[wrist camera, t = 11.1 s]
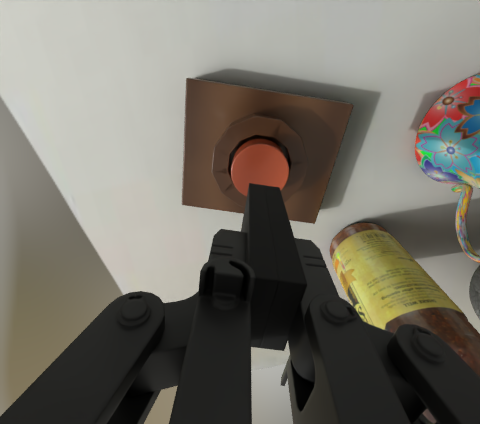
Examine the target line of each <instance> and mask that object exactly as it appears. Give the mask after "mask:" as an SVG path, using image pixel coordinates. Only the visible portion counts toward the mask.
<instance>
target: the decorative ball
mask: <svg viewBox="0 0 480 424" xmlns="http://www.w3.org/2000/svg"><path fill="white" fill-rule="evenodd" d="M469 294H470V300H471V304H472V306H473V309H474V311H475V313H476V314H477V316H478V318H479V319H480V266H479V267H478V268H477V270H476V271H475V273H474V274H473V277H472V279H471V282H470V288H469Z"/></svg>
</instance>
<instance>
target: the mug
mask: <svg viewBox="0 0 480 424" xmlns="http://www.w3.org/2000/svg"><path fill="white" fill-rule="evenodd" d="M415 155H416V159H417V162H418V164H419V166H420V168H421V169H422V170H423V172H424V173H425V174H426V175H427V176H429V177H430V178H432V179H434V180H436V181H438V182H442V183H447V184H459V185H455V186H453V187H452V188H451V190H452V191H454V192H461V191H462V192H461V195H460V198H459V201H458V205H457V210H456V232H457V237H458V240H459V243H460V246H461V248H462V250H463V251H464V252H465V254H466V255H467V256H468V257H469V258H471V259H472V260H474V261H476V262H478V263H480V256H479V255H477V254H476V253H475V251H474V250H473V248H472V246H471V244H470V242H469V239H468V235H467V228H466V218H467V211H468V206H469V203H470V199H471V196H472V192H473V188H472V186H474V187H477V188H479V189H480V74H478V75H475V76H472V77H470V78H467V79H465V80H463V81H462V82H460V83H458V84H456V85H455V86H454V87H452V88H451V89H449V90H448V91H447V92H446V93H444V94H443V95H442V96H441V97H440V98H439V99H438V100H437V101H436V102H435V103H434V104H433V106H432V107H431V108H430V110H429V111H428V112H427V114H426V115H425V117H424V119H423V121H422V123H421V125H420V127H419V130H418V133H417V136H416V142H415ZM467 184H468V185H467ZM470 185H472V186H470Z"/></svg>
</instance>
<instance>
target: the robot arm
mask: <svg viewBox="0 0 480 424" xmlns="http://www.w3.org/2000/svg"><path fill="white" fill-rule="evenodd" d="M287 341H288V343H289V349H290V356H289V359H288V361H287V364H286V367H285V369H284V372H283V375H282V377H281V385H282V386H285V383H286V381H287V378H288V385H289V393H290V401H291V408H292V416H293V424H480V377H479V376H478V375H477V374H476V373H475V372H474V371H473V370H472V368H471V367H470V366H469V365H468V364H467V363H466V362H465V361H464V360H463V359H462V358H461V357H460V356H459V355H458V354H457V353H456V352H455V351H454V350H453V349H452V348H451V347H450V346H449V345H448V344H447V343H446V342H445V341H443V340H442V339H441V338H440V337H439V336H437V335H436V334H434V333H432V332H431V331H429V330H427V329H426V328H423V327H420V326H417V325H414V324H404V325H401V326H399V327H398V328H397V330H396V332H395V333H391V332H389V331H386V330H383V329H381V328H378V327H376V326H373V325H370V324H368V323H366V322H364V321H362V319H361V317H360V315H359V314H358V312H357V311H356V309H355V308H354V307H353V306H352V305H351V304H349V303H348V302H347V301H346V300H344V299H342V298H340V297H339V295H338V292H337V290H336V288H335V285H334V283H333V280H332V278H331V276H330V273H329V271H328V268H326V264H325V261H324V260H323V256H322V254H321V252H320V249H319V248H318V247H317V246H316V245H315V244H314V243H313V242H312V241H311V240H304V239H297V238H294V236H293V232H292V229H291V225H290V222H289V218H288V215H287V211H286V208H285V204H284V201H283V197H282V194H281V190H280V187H273V186H266V185H259V184H253V183H249V187H248V193H247V199H246V205H245V211H244V217H243V223H242V229H241V232H239V231H232V230H225V229H221V230H219V231H218V232H217V233H216V234H215V235H214V238H213V242H212V247H211V251H210V256H209V260H208V262H207V263H205V264H204V266H203V267H202V269H201V272H200V283H199V291H198V292H197V293H196V294H195V295H193V296H192V297H190V298H187V299H185V300H181V301H177V302H170V303H163V302H162V301H161V299H160V298H159V297H158V296H156V295H154V294H152V293H148V292H142V291H140V292H132V293H128V294H125V295H123V296H120V297H119V298H117V299H116V300H114V301H113V302H112V303H111V304H109V305H108V306H107V307H106V308H105V309H104V310H103V311H102V312H101V313H100V314H99V315H98V316H97V317H96V318H95V319H94V320H93V322H92V323H91V324H90V325H89V326H88V327H87V328H86V329H85V330H84V331H83V332H82V333H81V334H80V335H79V336H78V337H77V338H76V339H75V340H74V341H73V342H72V343H71V344H70V345H69V346H68V347H67V348H66V349H65V350H64V352H63V353H62V354H61V355H60V356H59V357H58V358H57V359H56V360H55V361H54V362H53V363H52V364H51V365H50V366H49V367H48V368H47V369H46V370H45V371H44V372H43V373H42V374H41V375H40V376H39V377H38V378H37V379H36V380H35V382H34V383H32V384H31V385H30V387H29V388H28V389H27V390H26V391H25V392H24V393H23V394H22V395H21V396H20V397H19V398H18V399H17V400H16V401H15V402H14V403H13V404H12V405H11V406H10V407H9V408H8V409H7V410H6V411H5V412H4V413H3V414H2V416H0V424H144V422H145V420H146V418H147V416H148V414H149V412H150V410H151V408H152V406H153V404H154V403H155V400H156V399H157V397H158V395H159V393H160V391H161V389H165V388H169V387H173V386H177V385H178V387H177V391H176V396H175V400H174V404H173V409H172V413H171V418H170V422H169V424H252V414H251V347H257V348H265V349H274V350H282V351H284V349H285V346H286V343H287ZM426 409H428V410H429V412H430V413H431V414H432V416H433V417H434V419H435V420H436V421H437V422H436V423H432V422H431V421H429V420H428V419H427V418H426V417H425V416H424V415H423V412H424V411H425V410H426Z"/></svg>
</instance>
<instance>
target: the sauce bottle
mask: <svg viewBox="0 0 480 424" xmlns="http://www.w3.org/2000/svg"><path fill="white" fill-rule="evenodd" d="M330 255H331V258H332V261H333V267H334V269H335V271H336V273H337V275H338V278H339V280H340V282H341V284H342V286H343V288H344V290H345V292H346V295H347V297H348V299H349V301H350V303H351V305H352V306H353V307H354V308H355V309H356V311H357V312H358V314H359V315H360V317H361V319H362V321H364V322H366V323H368V324H370V325H373V326H376V327H378V328H381V329H383V330H386V331H389V332H391V333H395V332H396V330H397V328H398V327H399V326H401V325H404V324H414V325H417V326H420V327H423V328H426V329H427V330H429V331H431V332H432V333H434V334H436V335H437V336H439V337H440V338H441V339H442V340H443V341H445V342H446V343H447V344H448V345H449V346H450V347H451V348H452V349H453V350H454V351H455V352H456V353H457V354H458V355H459V356H460V357H461V358H462V359H463V360H464V361H465V362H466V363H467V364H468V365H469V366H470V367H471V368H472V370H473V371H474V372H475V373H476V374H477V375H478V376H479V377H480V334H479V333H478V332H477V330H476V329H475V328H474V327H473V326H472V325H471V324H470V323H469V322H468V319H467V317H466V316H465V314H464V313H463V312H462V311H461V310H460V309H459V308H458V306H457V305H456V304H455V303H454V302H453V301H452V300H451V299H450V298H449V297H448V296H447V294H446V293H445V292H444V291H443V290H442V289H441V288H440V287H439V286H438V285H437V284H436V283H435V281H434V280H433V279H432V278H431V277H430V276H429V275H428V274H427V273H426V272H425V271H424V269H423V268H422V267H421V266H420V265H419V264H418V263H417V262H416V261H415V260H414V259H413V258H412V256H411V255H410V254H409V253H408V252H407V251H406V250H405V249H404V248H403V247H402V246H401V245H400V243H399V242H398V241H397V240H396V239H395V238H394V237H393V236H392V235H390V234H389V233H388V232H387V231H386V230H385V229H384V228H382V227H380V226H379V225H376V224H373V223H357V224H352V225H350V226H348V227H346V228H344V229H343V230H342V231H340V232H339V233H338V234H337V235H336V236H335V237H334V238H333V240H332V243H331V246H330ZM423 415H424V416H425V417H426V418H427V419H428V420H429V421H431V422H432V423H436V422H437V421H436V420H435V419H434V417H433V416H432V414H431V413H430V412H429V410H428V409H426V410H425V411H424V412H423Z"/></svg>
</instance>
